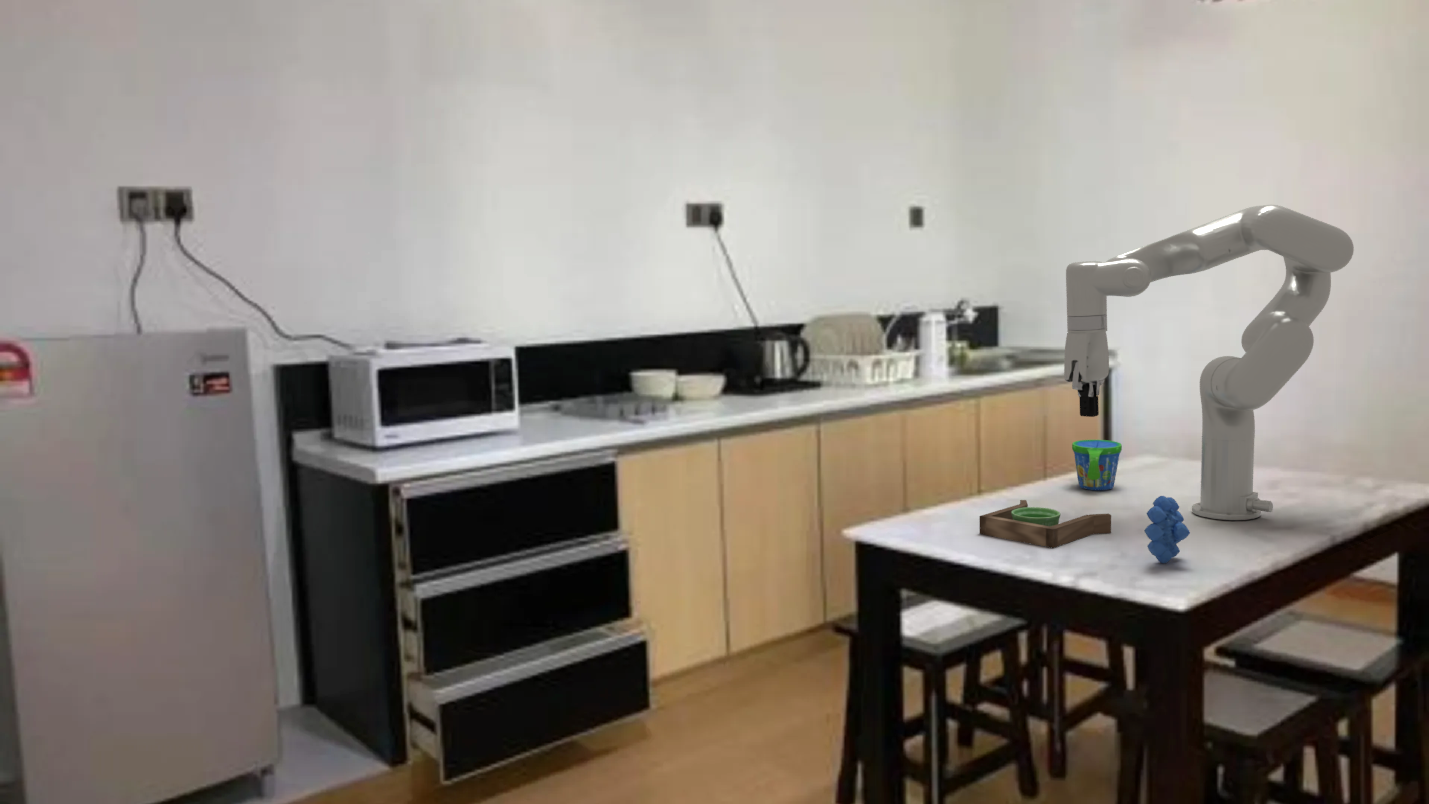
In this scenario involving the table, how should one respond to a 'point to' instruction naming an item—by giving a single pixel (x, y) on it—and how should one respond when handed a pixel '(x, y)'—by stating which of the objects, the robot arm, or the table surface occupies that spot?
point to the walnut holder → (1042, 527)
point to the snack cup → (1096, 463)
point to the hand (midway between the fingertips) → (1089, 415)
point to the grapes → (1165, 529)
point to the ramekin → (1037, 515)
